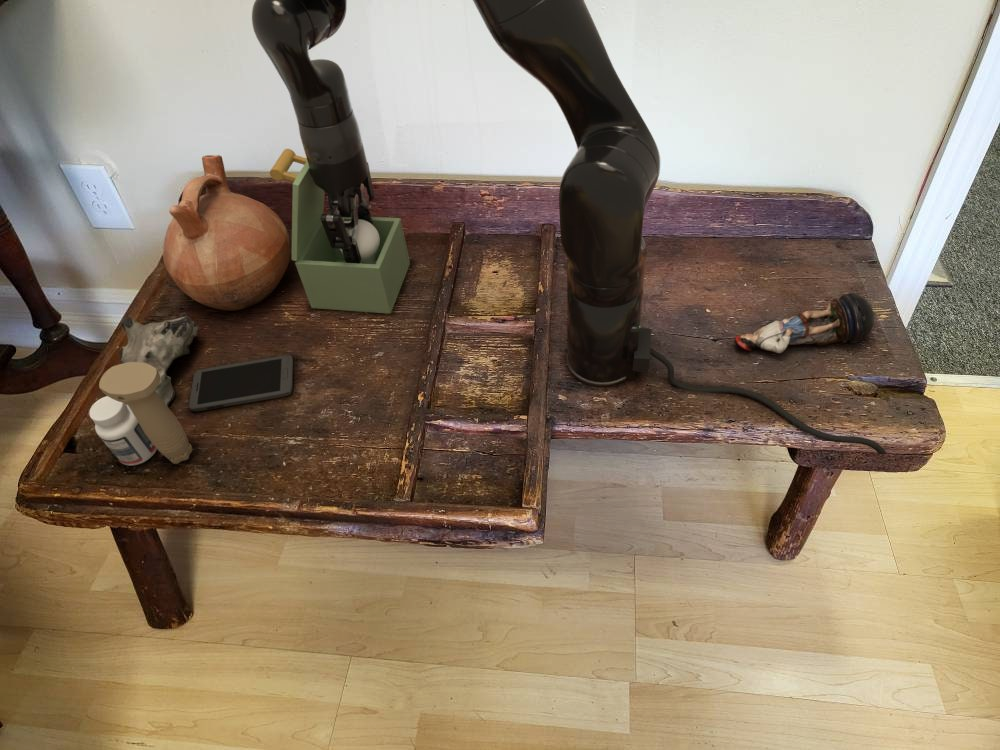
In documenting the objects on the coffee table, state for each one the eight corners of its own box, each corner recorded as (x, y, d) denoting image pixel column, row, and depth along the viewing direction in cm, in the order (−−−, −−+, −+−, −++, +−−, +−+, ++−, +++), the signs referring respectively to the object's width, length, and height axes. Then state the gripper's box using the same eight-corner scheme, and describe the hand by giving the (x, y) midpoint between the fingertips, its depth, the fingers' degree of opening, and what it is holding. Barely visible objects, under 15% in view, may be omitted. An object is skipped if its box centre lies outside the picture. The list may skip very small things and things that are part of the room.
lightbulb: (390, 267, 115) (376, 208, 106) (388, 293, 110) (373, 235, 102) (352, 270, 115) (335, 212, 106) (348, 296, 111) (330, 238, 102)
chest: (410, 263, 116) (400, 218, 110) (390, 313, 109) (379, 268, 102) (335, 259, 118) (321, 214, 112) (311, 308, 111) (294, 263, 104)
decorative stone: (185, 407, 98) (136, 357, 91) (129, 419, 100) (78, 370, 94) (221, 327, 109) (180, 276, 102) (170, 339, 111) (127, 290, 105)
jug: (276, 330, 108) (229, 220, 93) (165, 323, 111) (102, 215, 96) (316, 251, 120) (280, 141, 105) (214, 246, 123) (165, 139, 108)
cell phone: (293, 395, 99) (291, 392, 99) (189, 413, 98) (187, 409, 98) (294, 356, 104) (292, 353, 103) (195, 373, 103) (193, 370, 103)
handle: (196, 471, 92) (144, 395, 81) (149, 468, 93) (91, 392, 82) (211, 441, 95) (163, 363, 84) (165, 438, 96) (112, 360, 85)
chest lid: (327, 137, 101) (291, 125, 101) (298, 185, 94) (259, 173, 93) (323, 212, 111) (290, 202, 111) (296, 261, 104) (261, 251, 104)
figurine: (886, 308, 91) (738, 327, 94) (881, 353, 95) (738, 369, 98) (865, 280, 98) (726, 298, 100) (860, 323, 101) (727, 340, 104)
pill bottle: (145, 427, 97) (114, 384, 91) (167, 446, 95) (137, 403, 88) (110, 453, 95) (75, 410, 88) (131, 473, 93) (97, 431, 86)
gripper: (343, 178, 90) (371, 281, 102) (376, 117, 99) (398, 219, 112) (286, 176, 91) (320, 278, 104) (324, 116, 100) (351, 217, 113)
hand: (360, 247), depth 108 cm, fingers closed on lightbulb, 6 cm apart
